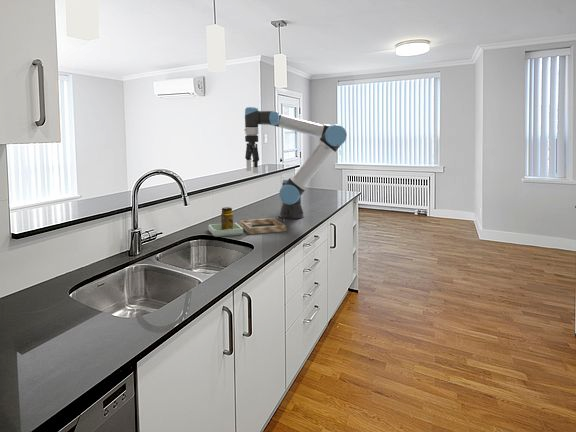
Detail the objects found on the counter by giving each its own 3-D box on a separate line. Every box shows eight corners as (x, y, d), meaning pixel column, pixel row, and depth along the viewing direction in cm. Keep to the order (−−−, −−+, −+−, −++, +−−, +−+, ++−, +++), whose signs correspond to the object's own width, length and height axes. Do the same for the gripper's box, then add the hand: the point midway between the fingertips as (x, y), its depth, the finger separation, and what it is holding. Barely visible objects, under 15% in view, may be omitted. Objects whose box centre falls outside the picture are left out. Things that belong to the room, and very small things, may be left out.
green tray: (236, 228, 222) (235, 222, 221) (243, 234, 208) (243, 228, 208) (208, 230, 216) (208, 224, 216) (214, 236, 203) (213, 230, 202)
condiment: (236, 231, 211) (235, 208, 209) (221, 233, 207) (220, 210, 205) (230, 228, 217) (229, 206, 215) (215, 230, 213) (214, 207, 211)
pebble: (249, 226, 226) (249, 222, 226) (252, 227, 224) (252, 223, 224) (244, 227, 224) (244, 223, 224) (247, 228, 222) (247, 223, 222)
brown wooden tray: (273, 223, 234) (273, 218, 234) (286, 230, 216) (286, 225, 215) (240, 225, 227) (240, 220, 227) (250, 233, 209) (249, 228, 208)
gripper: (239, 134, 243) (240, 170, 247) (251, 135, 220) (251, 174, 224) (251, 134, 246) (252, 170, 250) (264, 135, 223) (264, 173, 227)
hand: (252, 172), depth 237 cm, fingers open, 13 cm apart
